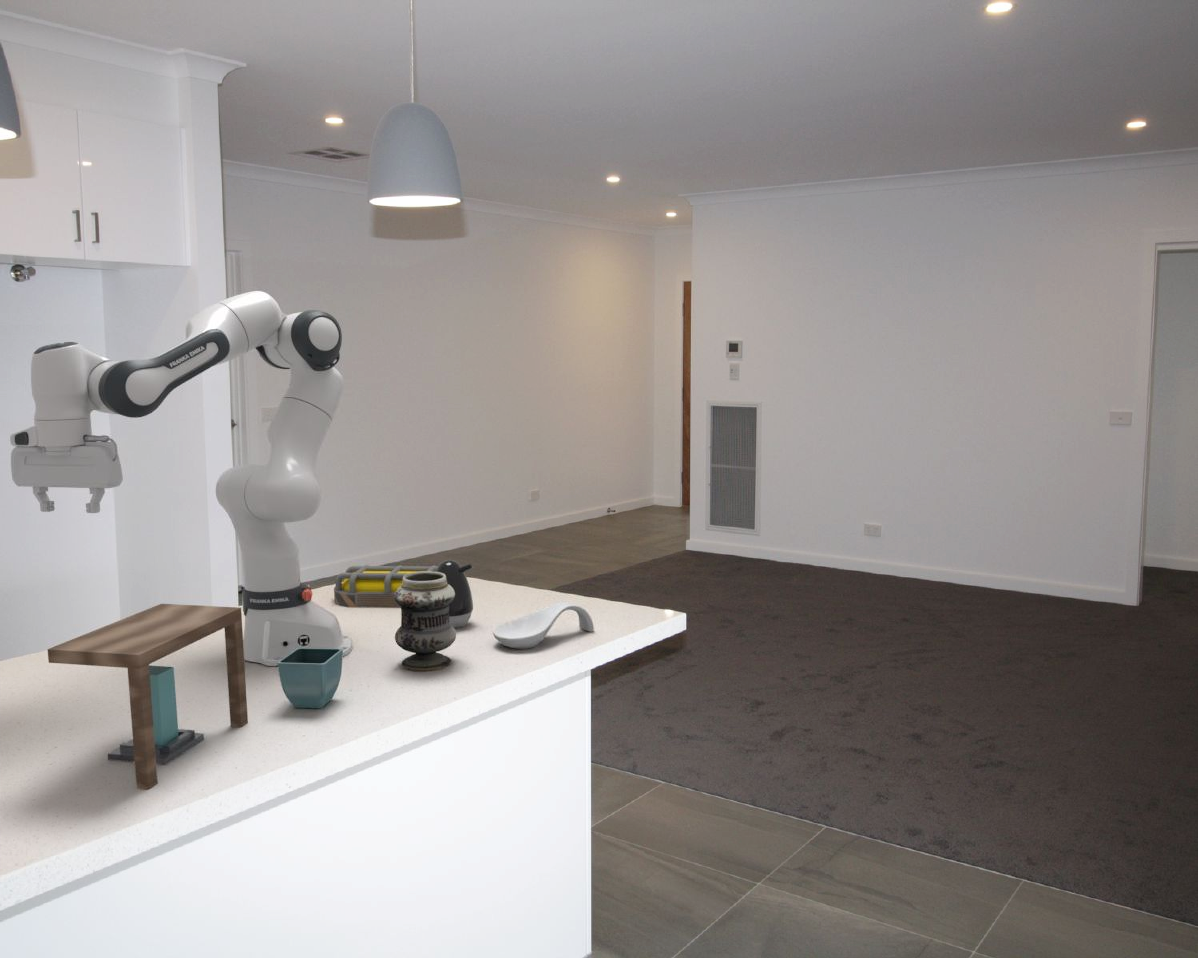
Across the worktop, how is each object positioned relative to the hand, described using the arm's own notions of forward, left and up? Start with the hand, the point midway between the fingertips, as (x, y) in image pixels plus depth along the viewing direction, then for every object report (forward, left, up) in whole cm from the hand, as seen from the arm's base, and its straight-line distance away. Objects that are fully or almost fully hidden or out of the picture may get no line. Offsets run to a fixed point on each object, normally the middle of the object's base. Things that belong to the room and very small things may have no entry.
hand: (70, 512), depth 179 cm
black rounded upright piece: (-69, -29, -34) cm, 82 cm away
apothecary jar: (-62, -3, -34) cm, 71 cm away
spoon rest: (-87, -13, -35) cm, 95 cm away
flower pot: (-41, +15, -34) cm, 56 cm away
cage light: (-57, -56, -35) cm, 87 cm away
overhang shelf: (-18, +30, -34) cm, 49 cm away
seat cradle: (-18, +30, -34) cm, 49 cm away
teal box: (-18, +30, -33) cm, 48 cm away
